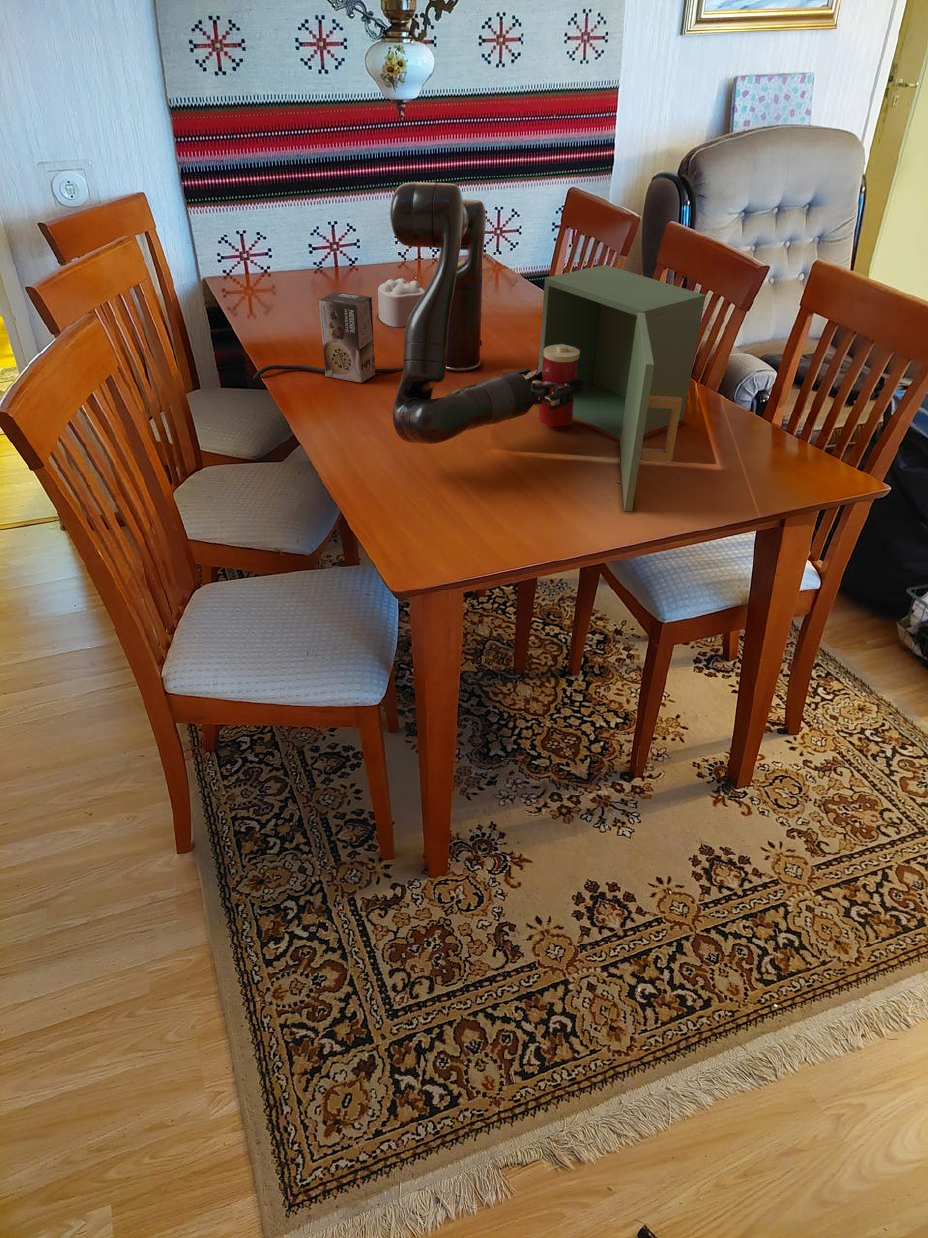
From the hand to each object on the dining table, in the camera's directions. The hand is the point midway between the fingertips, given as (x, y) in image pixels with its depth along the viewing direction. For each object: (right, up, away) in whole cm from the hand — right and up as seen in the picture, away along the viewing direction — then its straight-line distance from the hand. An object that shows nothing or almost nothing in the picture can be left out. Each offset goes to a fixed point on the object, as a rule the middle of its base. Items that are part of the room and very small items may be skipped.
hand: (568, 379), depth 161 cm
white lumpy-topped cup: (-35, +31, +58) cm, 74 cm away
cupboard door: (+11, -20, -10) cm, 25 cm away
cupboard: (+9, -4, +12) cm, 16 cm away
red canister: (-2, -7, +3) cm, 8 cm away
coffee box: (-43, +8, +26) cm, 51 cm away
